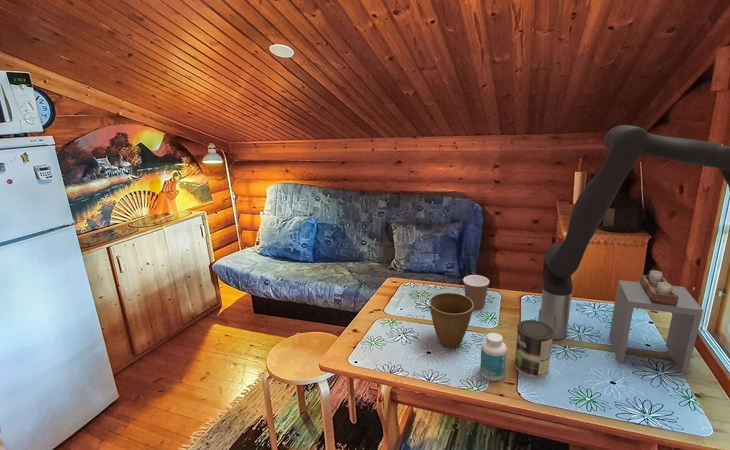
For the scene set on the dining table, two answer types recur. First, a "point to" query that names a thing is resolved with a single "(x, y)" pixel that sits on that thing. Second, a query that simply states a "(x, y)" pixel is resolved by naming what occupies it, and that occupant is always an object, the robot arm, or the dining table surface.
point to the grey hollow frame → (635, 297)
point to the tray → (658, 296)
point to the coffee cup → (476, 290)
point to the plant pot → (450, 317)
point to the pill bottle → (493, 357)
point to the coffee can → (533, 348)
